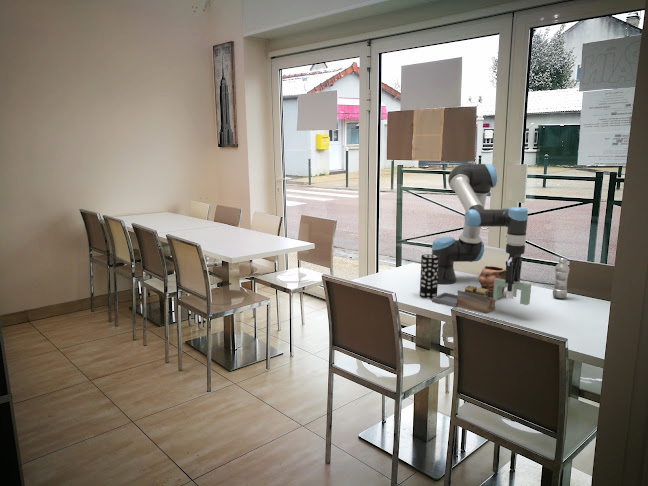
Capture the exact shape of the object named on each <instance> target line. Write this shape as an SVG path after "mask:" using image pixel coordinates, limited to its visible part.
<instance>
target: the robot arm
mask: <svg viewBox="0 0 648 486" xmlns="http://www.w3.org/2000/svg"><path fill="white" fill-rule="evenodd" d="M447 178H448V179H447V182H448V185H449V187H450V189H451V190H452V191H453V192H455V194H456V195H457V198H458V200H459V201H460V203H461V205H462V207H463V209H464V210H465V213H464V223H463V230H462V233H461V234H459V236H458V239H455V238H454V237H452V236H443V237H438V238H435V239H434V240H433V241H432V245H431V246H432V247H431V254H432V255H437V256H439V269H438V285H450V284H451V285H452V284H455V283H456V282H457V277H456V276H457V275H456V272H455V269H454V265H455V264H454V263H458V262H460V263H461V262H463V263H467V262H468V263H469V262H470V263H474V262H478V261H481V259H482V258H483V256H484V253H485V243H484V241H483V239H482V237H481V236H480V233H481V229H482V228H483V227H484V228H486V227H499V228H500V227H504V228H505V227H506V228H507V231H506V236H505V238H506V245H505V252H506V254H509V256H508V260H506V261H505V270H506V279H505V283H507V287H506V296H505V297H506V298H507V299H511V300H513V299H514V298H517V294H518V293H517V292H518V290H517V289H514V284H513V283H514V281H515V282H521V280H520V279H521V272H522V263H523V259H524V258H523V256H521V255H524V254H525V250H526V241H527V227H528V220H529V216H528V215H529V214H528V212H529V211H528V209H527V208H525V207H521V206H514V207H513V206H512V207H509V208H505V207H503V208H499V209H489V208H488V209H485V206H486V200H487V199H486V198H487V196H488V194H490V193H491V190H492V189H493V188H495V187H496V186H497V183H498V174H497V170H496V168H495V167H494V165H493V164H488V163H461V164H459V165H457V166H455V167H454V168H452V170H451V171H450V172H449V174H448V177H447Z"/></svg>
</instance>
